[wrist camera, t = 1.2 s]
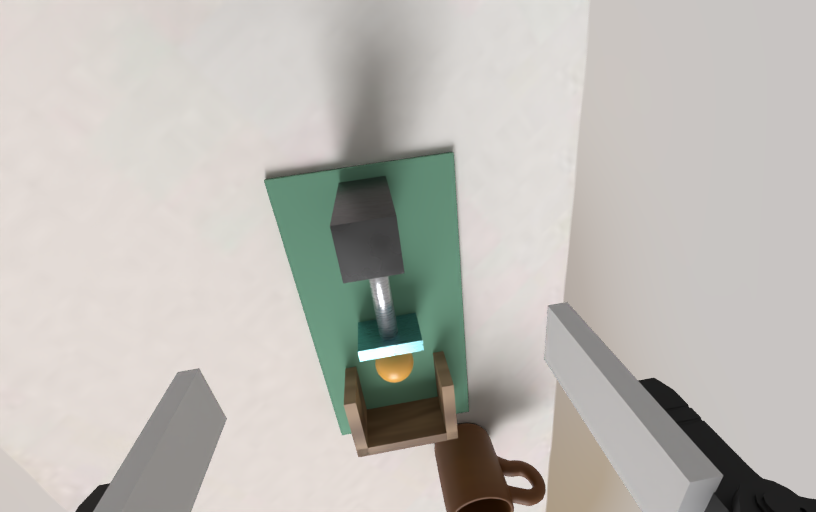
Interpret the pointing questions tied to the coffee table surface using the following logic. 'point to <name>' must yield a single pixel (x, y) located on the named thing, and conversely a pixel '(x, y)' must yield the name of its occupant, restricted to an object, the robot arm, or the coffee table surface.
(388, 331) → the rod
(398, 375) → the ball
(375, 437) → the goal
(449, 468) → the mug
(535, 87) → the coffee table surface
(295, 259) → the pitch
